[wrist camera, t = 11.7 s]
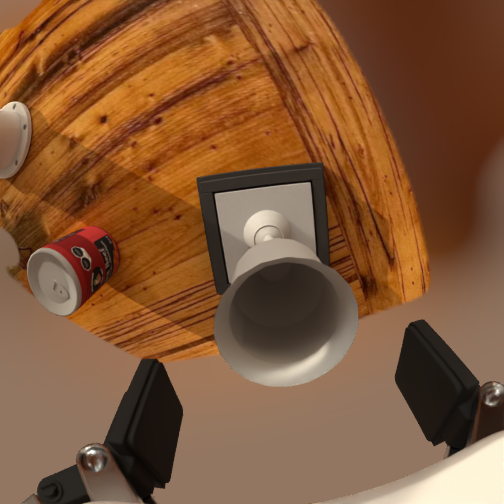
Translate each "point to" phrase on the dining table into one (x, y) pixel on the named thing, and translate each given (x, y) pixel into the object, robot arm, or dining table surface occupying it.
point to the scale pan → (259, 199)
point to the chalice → (283, 309)
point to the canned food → (72, 269)
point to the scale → (252, 180)
